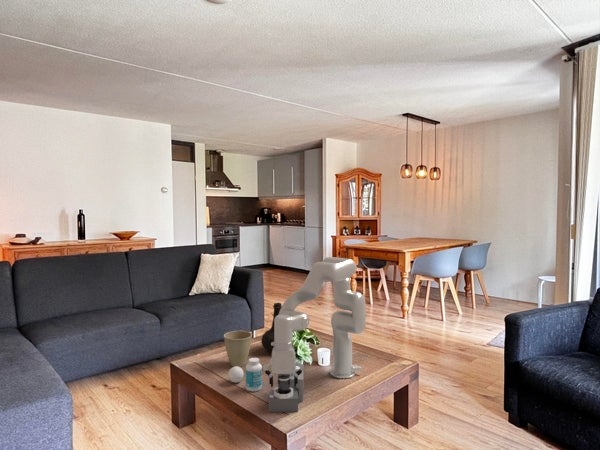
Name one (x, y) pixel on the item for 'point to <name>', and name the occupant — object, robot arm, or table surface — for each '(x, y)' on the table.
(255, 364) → the pill bottle
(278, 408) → the grey ring-top block
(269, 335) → the glass bottle
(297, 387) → the icon cube
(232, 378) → the white ovoid
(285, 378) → the lens
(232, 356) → the plant pot
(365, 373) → the table surface
